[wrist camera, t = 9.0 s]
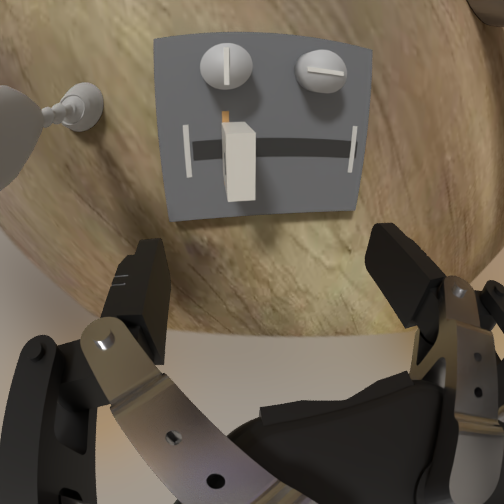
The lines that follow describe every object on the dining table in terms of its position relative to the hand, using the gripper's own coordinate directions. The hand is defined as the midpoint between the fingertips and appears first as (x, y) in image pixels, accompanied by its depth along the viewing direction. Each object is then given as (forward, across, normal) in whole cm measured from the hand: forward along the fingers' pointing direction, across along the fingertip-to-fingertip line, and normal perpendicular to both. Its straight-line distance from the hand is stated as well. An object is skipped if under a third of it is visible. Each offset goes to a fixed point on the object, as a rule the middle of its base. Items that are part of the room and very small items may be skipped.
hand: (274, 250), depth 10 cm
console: (+18, -3, -2) cm, 18 cm away
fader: (+16, 0, 0) cm, 16 cm away
